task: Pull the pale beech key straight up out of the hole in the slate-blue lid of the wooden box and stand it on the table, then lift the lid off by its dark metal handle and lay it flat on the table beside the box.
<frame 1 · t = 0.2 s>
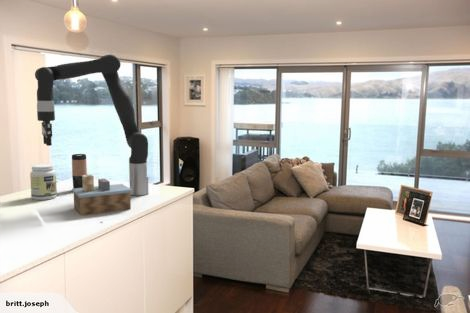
hand: (47, 144, 202), 29 cm above the table, tool pointing down, fingers open, 8 cm apart
travel mug: (80, 190, 238), on the table
toolbox lid: (101, 191, 194), point 9 cm above the table, touching wooden box
beech key: (89, 210, 192), point 1 cm above the table, touching wooden box
supplement tub: (44, 198, 219), on the table
wooden box: (102, 210, 195), on the table
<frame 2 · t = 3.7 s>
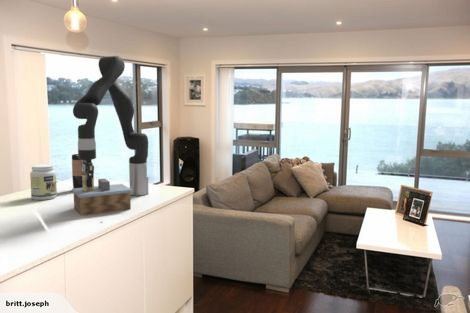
hand: (88, 186, 191), 12 cm above the table, tool pointing down, fingers closed on beech key, 4 cm apart
beech key: (89, 210, 192), point 1 cm above the table, touching gripper, wooden box
everything else where it was.
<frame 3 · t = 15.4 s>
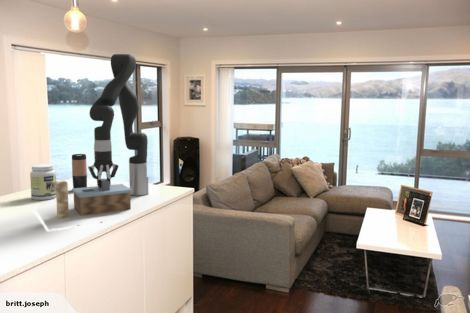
hand: (104, 186, 194), 11 cm above the table, tool pointing down, fingers closed on toolbox lid, 3 cm apart
toolbox lid: (101, 191, 194), point 9 cm above the table, touching gripper, wooden box
beech key: (63, 218, 182), on the table
everything else where it was.
when the fingers open (4 cm above the table, at t = 24.2 s): toolbox lid drops 1 cm, on the table.
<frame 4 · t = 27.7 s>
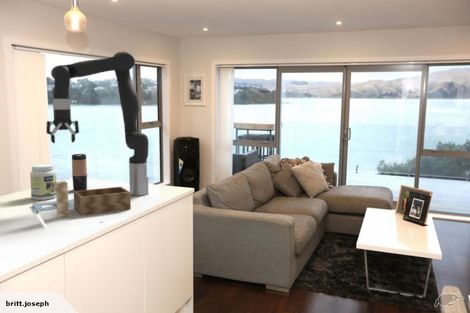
hand: (63, 142, 203), 30 cm above the table, tool pointing down, fingers open, 8 cm apart
toolbox lid: (61, 206, 202), on the table
everything else where it was.
at the end: beech key inside the target area (0.0 cm from its centre), on the table; toolbox lid inside the target area (1.1 cm from its centre), on the table; toolbox lid tilted 0° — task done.
